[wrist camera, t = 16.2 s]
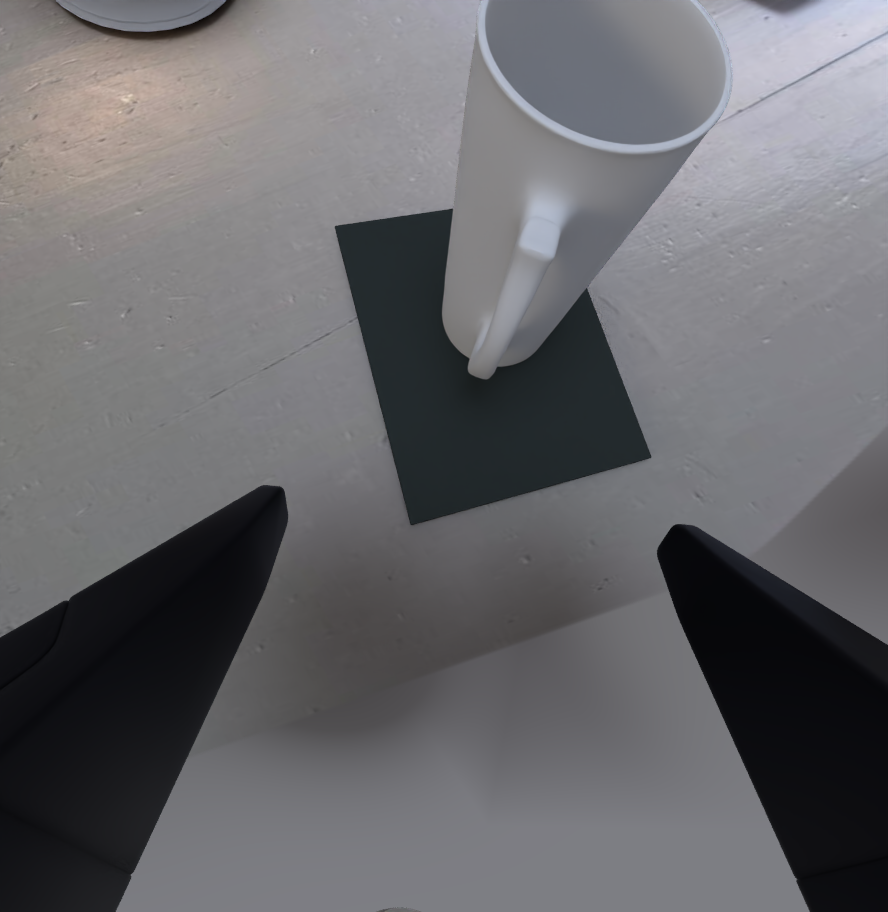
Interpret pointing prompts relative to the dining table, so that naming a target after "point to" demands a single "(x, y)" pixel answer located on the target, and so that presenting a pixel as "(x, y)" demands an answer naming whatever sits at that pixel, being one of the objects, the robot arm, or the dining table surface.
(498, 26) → the mug
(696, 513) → the dining table surface
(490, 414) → the mat
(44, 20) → the dining table surface
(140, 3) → the chalice
